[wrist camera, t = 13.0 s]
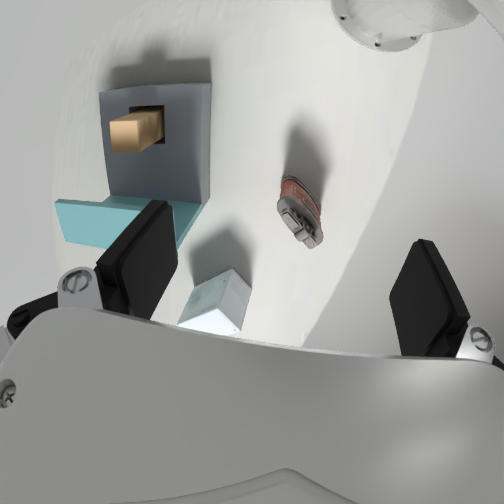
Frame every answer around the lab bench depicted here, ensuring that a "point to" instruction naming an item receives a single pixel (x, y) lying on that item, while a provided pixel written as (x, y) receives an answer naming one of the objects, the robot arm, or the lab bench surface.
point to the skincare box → (217, 305)
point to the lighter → (300, 212)
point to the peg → (137, 130)
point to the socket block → (148, 165)
